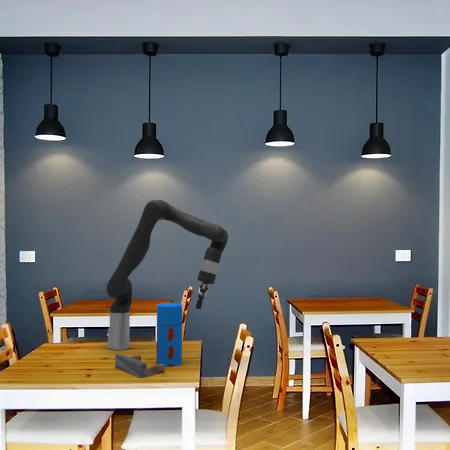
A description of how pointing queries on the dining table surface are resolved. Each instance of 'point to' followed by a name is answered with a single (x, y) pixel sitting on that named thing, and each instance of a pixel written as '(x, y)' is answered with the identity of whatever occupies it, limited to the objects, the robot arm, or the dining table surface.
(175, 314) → the thermos
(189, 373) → the dining table surface
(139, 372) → the bay
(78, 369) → the dining table surface
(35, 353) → the dining table surface
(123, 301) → the robot arm
